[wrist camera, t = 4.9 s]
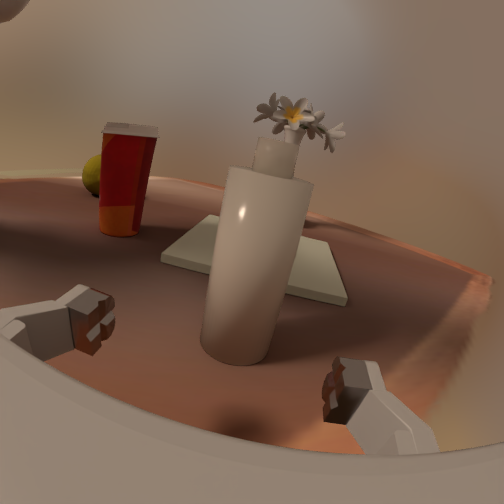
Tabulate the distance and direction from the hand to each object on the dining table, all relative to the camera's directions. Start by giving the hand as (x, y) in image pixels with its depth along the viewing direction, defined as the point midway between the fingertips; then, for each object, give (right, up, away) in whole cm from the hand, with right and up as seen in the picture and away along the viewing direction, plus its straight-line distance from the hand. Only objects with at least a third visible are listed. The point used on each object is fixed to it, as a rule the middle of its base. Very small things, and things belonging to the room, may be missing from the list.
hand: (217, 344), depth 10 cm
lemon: (-29, +14, +43) cm, 54 cm away
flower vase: (+6, +10, +52) cm, 53 cm away
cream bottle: (0, -3, +11) cm, 12 cm away
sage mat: (+2, +3, +30) cm, 30 cm away
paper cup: (-17, +6, +27) cm, 32 cm away
